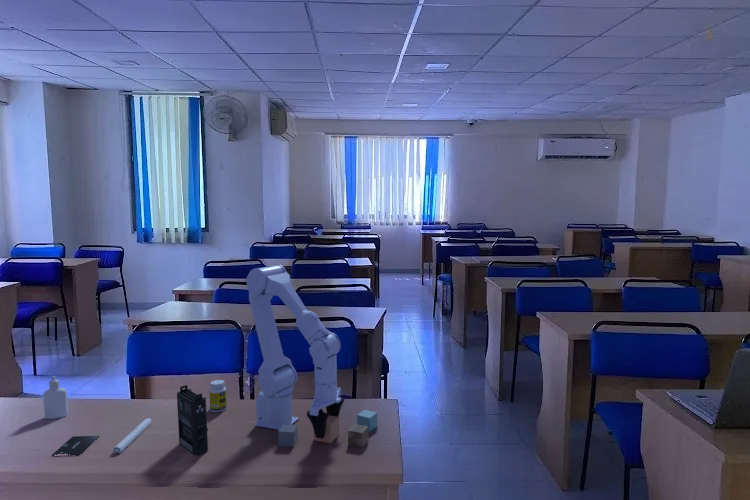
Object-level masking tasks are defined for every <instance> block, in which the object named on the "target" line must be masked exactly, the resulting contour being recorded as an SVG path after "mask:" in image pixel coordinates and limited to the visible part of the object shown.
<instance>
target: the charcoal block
mask: <svg viewBox="0 0 750 500" xmlns="http://www.w3.org/2000/svg"><path fill="white" fill-rule="evenodd" d="M298 429H299V427H298V424H292V425H285V424H282V426H281V428H280V429H279V430H278V431H277V434H278V442H277V443H278V447H286V448H287V447H289V448H290V447H291V448H295V446H296V445H297V442H298V441H299V431H298Z"/></svg>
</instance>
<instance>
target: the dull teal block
mask: <svg viewBox="0 0 750 500" xmlns="http://www.w3.org/2000/svg"><path fill="white" fill-rule="evenodd" d="M356 417H357V418H356V422H357V423H356V424H358V425H364V426H368V433H371V432H372V431H373V430H375V429H376V428H377V427H378V411H377V412H376V411H372V410H368V409H364V410H362V411H361V412H359V413H358V414H356Z"/></svg>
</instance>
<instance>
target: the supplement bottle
mask: <svg viewBox="0 0 750 500" xmlns="http://www.w3.org/2000/svg"><path fill="white" fill-rule="evenodd" d="M226 410H227V388H226V383H225V380H223V379H215V380H212V381H210V389H209V411H210V412H212V413H221V412H224V411H226Z"/></svg>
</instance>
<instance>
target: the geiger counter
mask: <svg viewBox="0 0 750 500" xmlns="http://www.w3.org/2000/svg"><path fill="white" fill-rule="evenodd" d="M176 401H177V404H176V406H177V421H178V422H177V423H178V424H177V425H178V441H179V442H178V445H180V446H181V447H182V448H184V449H185V450H186V451H187V452H189V453H190V454H191V455H193V456H195V457H196V456H199V455H202V454H204V453H207V452H208V451H209V442H208V441H209V440H208V439H209V437H208V432H209V429H208V420H207V419H208V418H207V398H206V397H203V393H202V392H201V393H198V394H197V393H195V392H193V390H192V389H191V388H188V384H186V385H181V386H180V387H179V391H177V393H176Z"/></svg>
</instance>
